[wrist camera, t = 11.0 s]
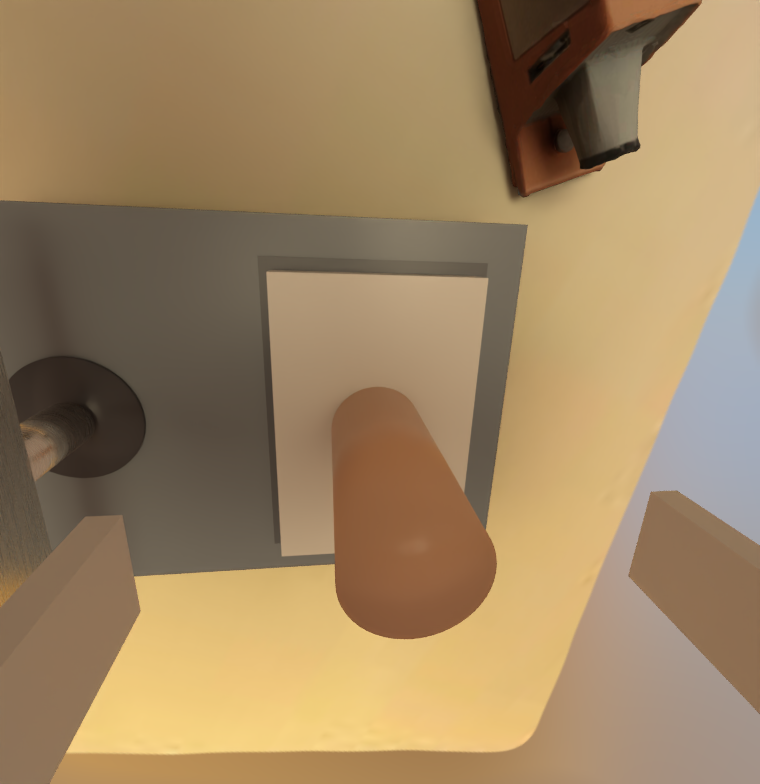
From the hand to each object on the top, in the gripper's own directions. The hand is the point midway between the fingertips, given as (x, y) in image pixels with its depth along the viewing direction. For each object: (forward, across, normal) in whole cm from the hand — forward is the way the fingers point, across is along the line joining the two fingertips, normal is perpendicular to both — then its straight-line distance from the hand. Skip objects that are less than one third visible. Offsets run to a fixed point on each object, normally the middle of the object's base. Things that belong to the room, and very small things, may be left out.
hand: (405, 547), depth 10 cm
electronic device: (+13, +8, +15) cm, 22 cm away
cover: (+8, 0, 0) cm, 8 cm away
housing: (+13, -4, 0) cm, 14 cm away
